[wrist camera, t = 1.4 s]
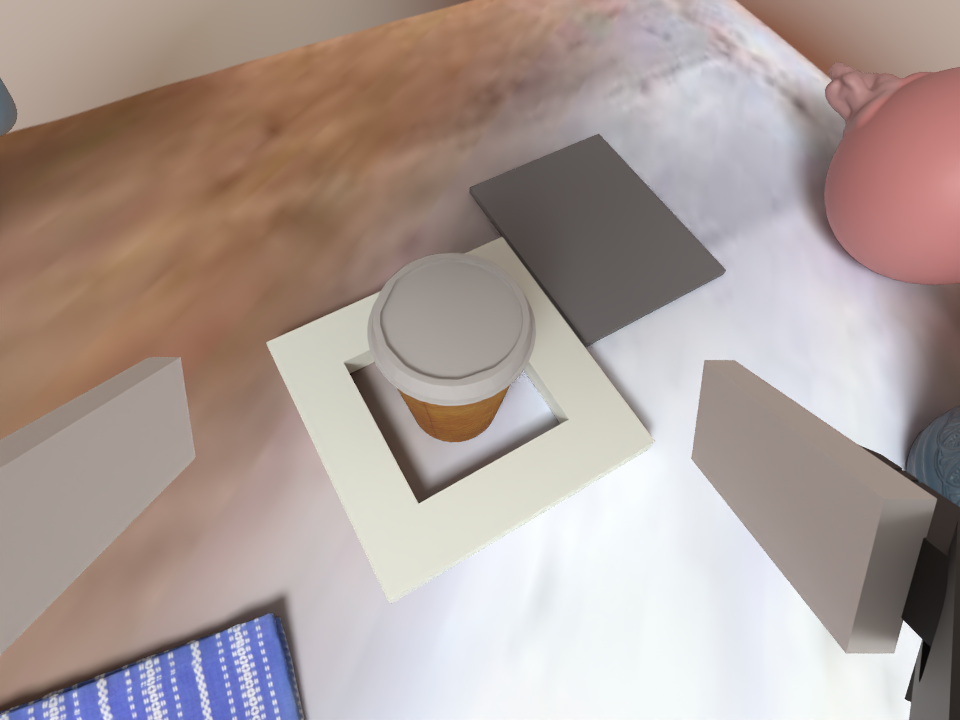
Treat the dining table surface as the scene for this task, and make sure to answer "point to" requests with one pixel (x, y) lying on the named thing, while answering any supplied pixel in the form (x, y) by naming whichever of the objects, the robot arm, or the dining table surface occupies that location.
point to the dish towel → (188, 683)
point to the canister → (939, 455)
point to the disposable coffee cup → (451, 340)
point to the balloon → (897, 173)
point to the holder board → (485, 493)
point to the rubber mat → (595, 237)
